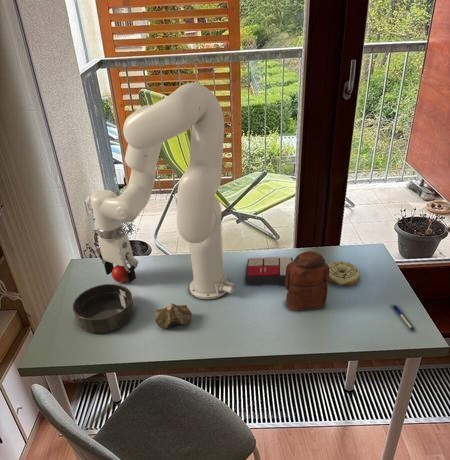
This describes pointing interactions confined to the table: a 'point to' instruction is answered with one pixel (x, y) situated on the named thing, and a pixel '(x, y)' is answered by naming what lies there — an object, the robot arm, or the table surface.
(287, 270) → the wooden figurine
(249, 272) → the miniature drawer cabinet
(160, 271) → the table surface
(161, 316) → the fossilized seashell
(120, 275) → the red ball
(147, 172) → the robot arm
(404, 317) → the ballpoint pen
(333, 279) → the decorated donut
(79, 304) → the bowl
